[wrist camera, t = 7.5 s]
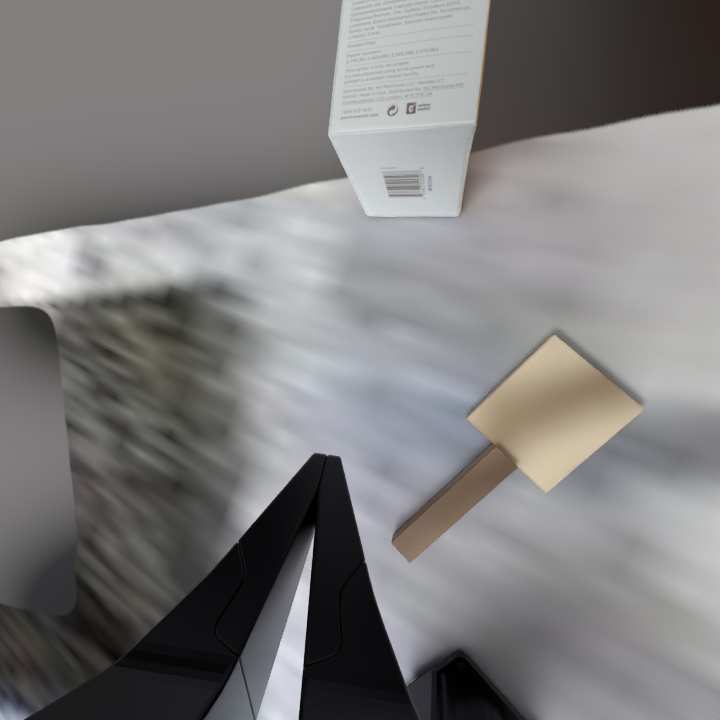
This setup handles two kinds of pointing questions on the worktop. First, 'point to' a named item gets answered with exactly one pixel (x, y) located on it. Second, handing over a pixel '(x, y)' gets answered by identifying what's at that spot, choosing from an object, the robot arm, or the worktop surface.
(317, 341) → the worktop surface
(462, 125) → the small box
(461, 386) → the worktop surface
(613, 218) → the worktop surface
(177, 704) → the robot arm
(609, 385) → the wooden turner
